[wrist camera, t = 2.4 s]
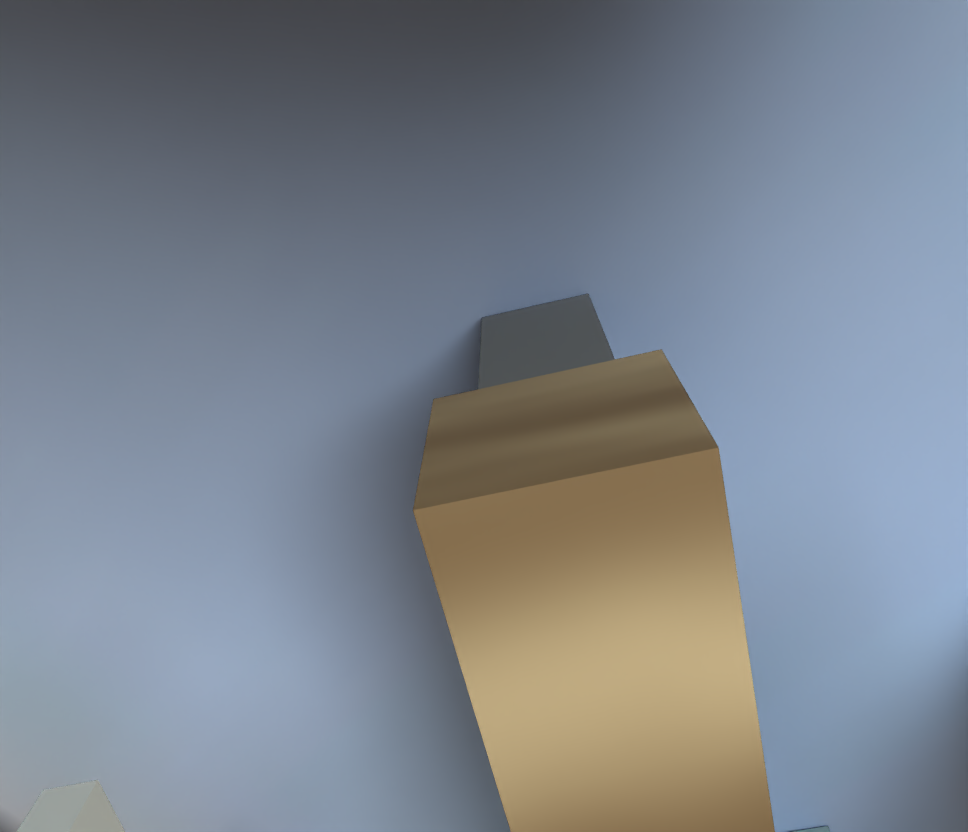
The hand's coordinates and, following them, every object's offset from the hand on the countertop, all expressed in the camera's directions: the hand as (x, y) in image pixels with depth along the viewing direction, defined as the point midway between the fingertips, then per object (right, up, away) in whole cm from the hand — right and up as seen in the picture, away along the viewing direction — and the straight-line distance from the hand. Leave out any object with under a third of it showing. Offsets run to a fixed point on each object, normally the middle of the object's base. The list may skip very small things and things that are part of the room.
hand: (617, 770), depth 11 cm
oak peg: (+1, -1, +7) cm, 7 cm away
